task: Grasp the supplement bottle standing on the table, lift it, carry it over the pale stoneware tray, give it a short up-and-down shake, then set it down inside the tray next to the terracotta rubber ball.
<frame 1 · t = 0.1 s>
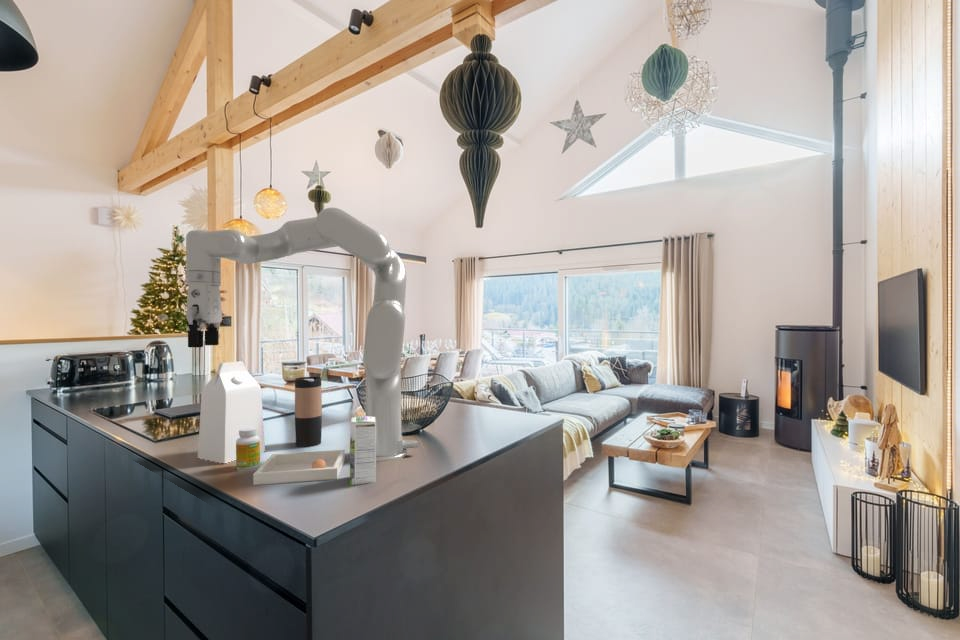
hand: (204, 346, 111), 31 cm above the counter, tool pointing down, fingers open, 9 cm apart
travel mug: (308, 444, 132), on the counter
tray: (303, 473, 106), on the counter
supplement bottle: (248, 467, 111), on the counter
syrup box: (363, 482, 100), on the counter
milk: (232, 455, 122), on the counter
ball: (318, 472, 105), point 1 cm above the counter, touching tray
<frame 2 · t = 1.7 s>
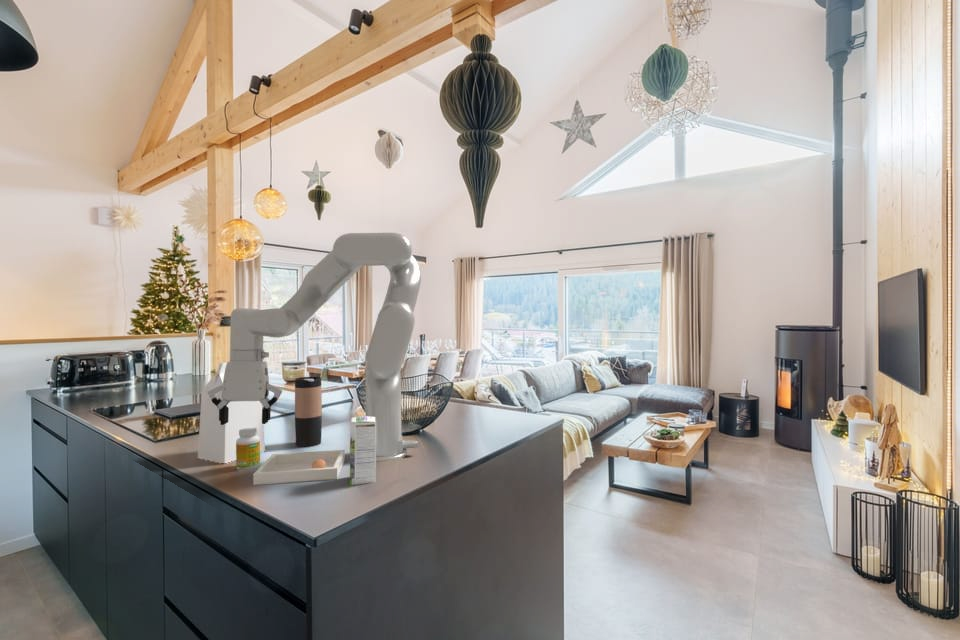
hand: (244, 423, 111), 11 cm above the counter, tool pointing down, fingers open, 9 cm apart
nothing on the counter moved.
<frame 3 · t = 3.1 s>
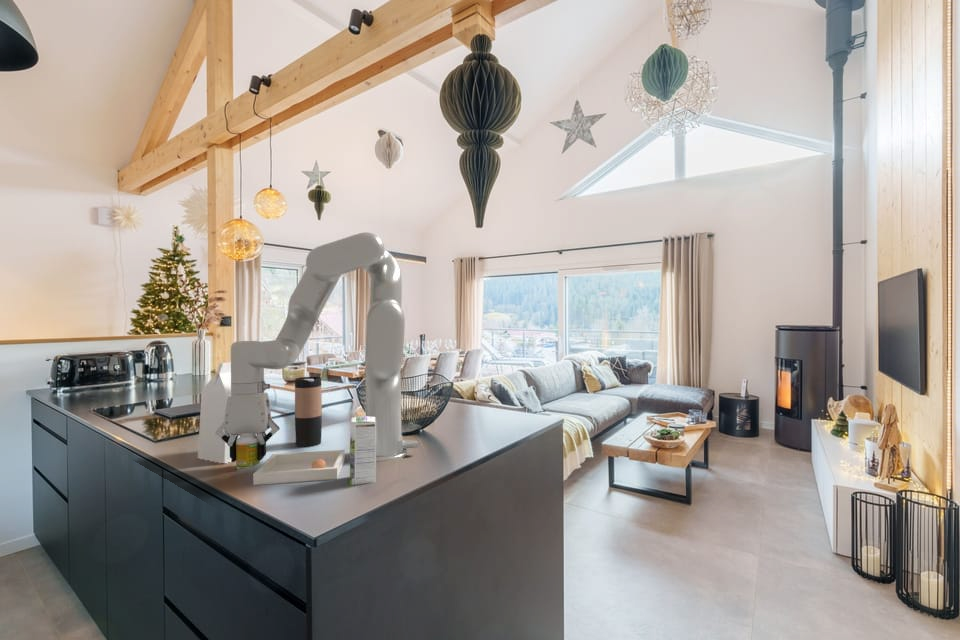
hand: (248, 458, 111), 2 cm above the counter, tool pointing down, fingers closed on supplement bottle, 5 cm apart
supplement bottle: (248, 467, 111), on the counter, touching gripper
everything else where it was.
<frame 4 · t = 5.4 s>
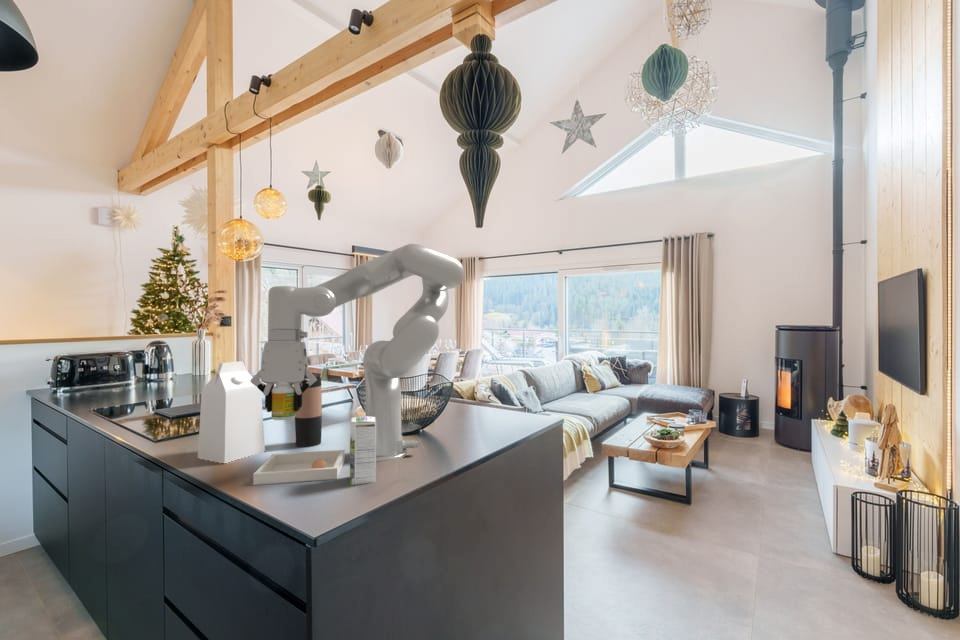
hand: (283, 409, 106), 16 cm above the counter, tool pointing down, fingers closed on supplement bottle, 5 cm apart
supplement bottle: (283, 418, 106), point 13 cm above the counter, touching gripper
everything else where it was.
when the fingers open (5 cm above the counter, at t = 8.0 s): supplement bottle drops 2 cm, resting on tray.
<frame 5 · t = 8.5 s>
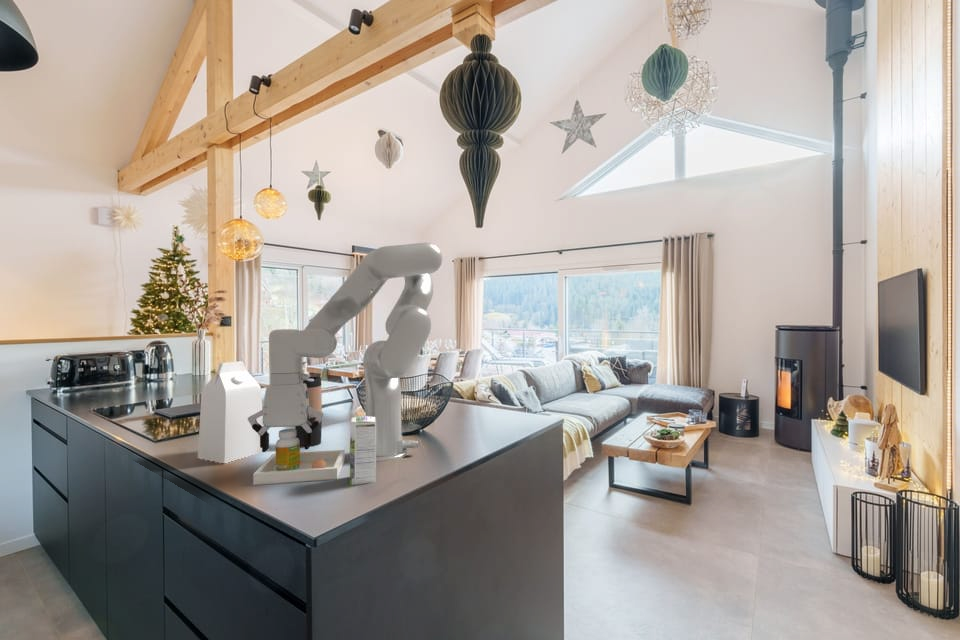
hand: (286, 449, 106), 6 cm above the counter, tool pointing down, fingers open, 9 cm apart
supplement bottle: (288, 470, 107), resting on tray
everything else where it was.
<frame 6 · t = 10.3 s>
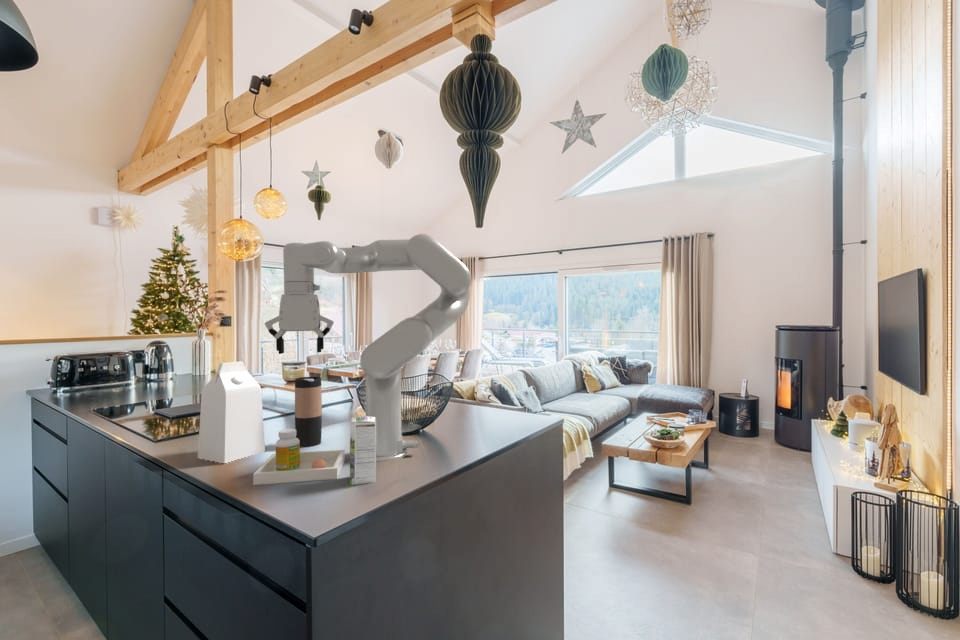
hand: (300, 352, 117), 29 cm above the counter, tool pointing down, fingers open, 9 cm apart
nothing on the counter moved.
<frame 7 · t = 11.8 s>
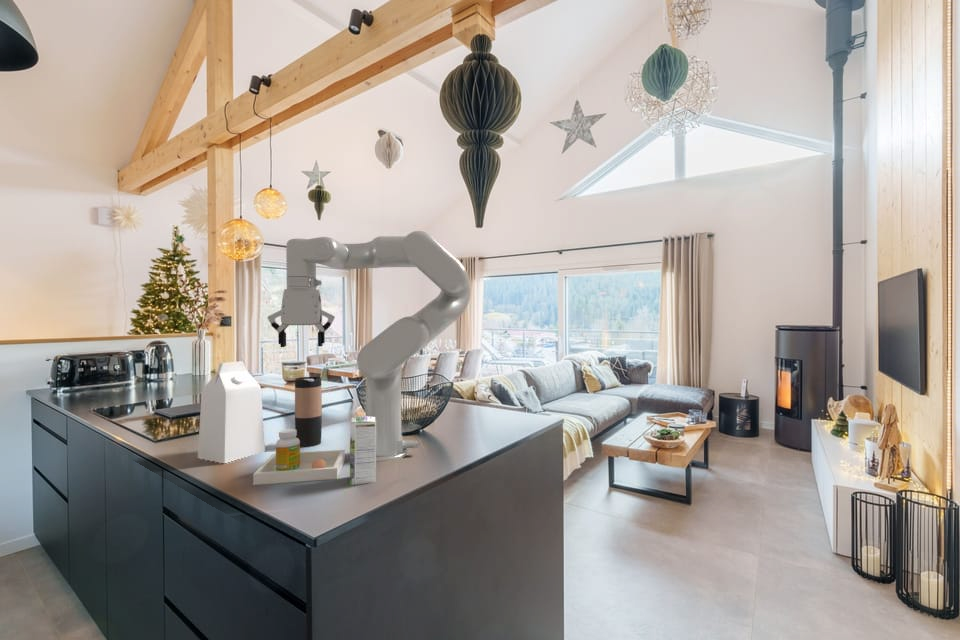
hand: (301, 346, 120), 30 cm above the counter, tool pointing down, fingers open, 9 cm apart
nothing on the counter moved.
at the end: supplement bottle inside the target area on the tray (3.9 cm from its centre), point 0.4 cm above the tray's base; supplement bottle tilted 0°; the gripper is holding nothing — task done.
